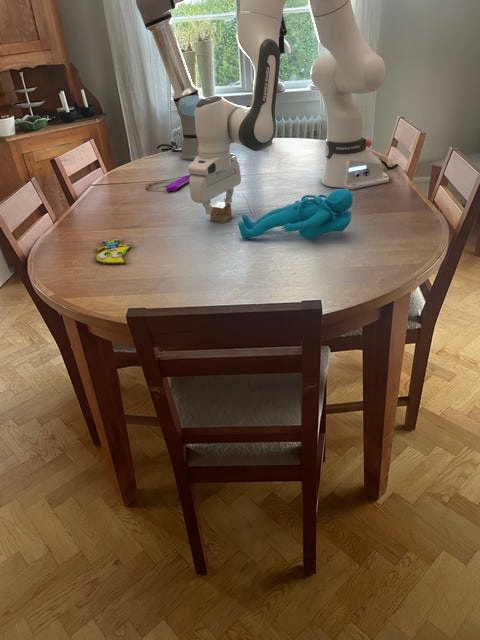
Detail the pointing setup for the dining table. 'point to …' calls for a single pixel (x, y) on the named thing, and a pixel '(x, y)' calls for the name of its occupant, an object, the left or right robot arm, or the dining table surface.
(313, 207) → the toy
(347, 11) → the right robot arm
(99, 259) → the toy
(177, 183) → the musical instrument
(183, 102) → the left robot arm
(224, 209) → the block
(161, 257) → the dining table surface
